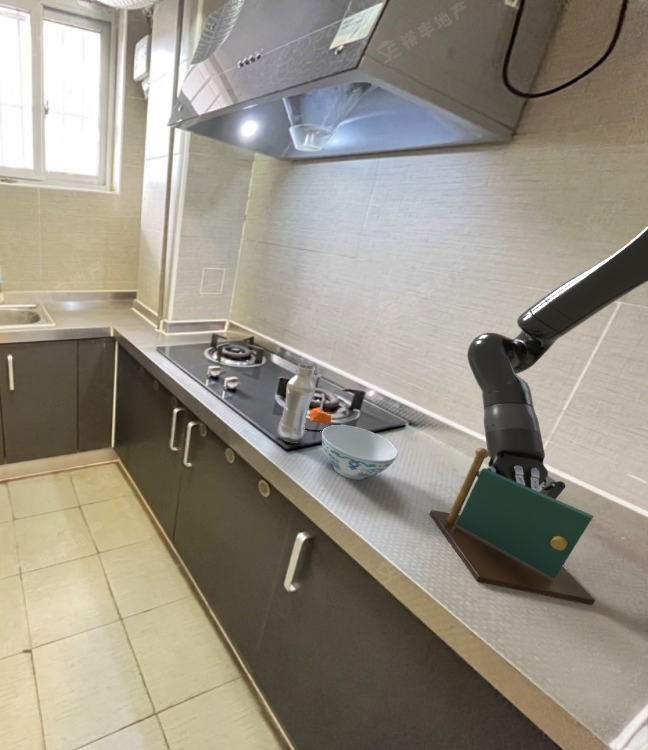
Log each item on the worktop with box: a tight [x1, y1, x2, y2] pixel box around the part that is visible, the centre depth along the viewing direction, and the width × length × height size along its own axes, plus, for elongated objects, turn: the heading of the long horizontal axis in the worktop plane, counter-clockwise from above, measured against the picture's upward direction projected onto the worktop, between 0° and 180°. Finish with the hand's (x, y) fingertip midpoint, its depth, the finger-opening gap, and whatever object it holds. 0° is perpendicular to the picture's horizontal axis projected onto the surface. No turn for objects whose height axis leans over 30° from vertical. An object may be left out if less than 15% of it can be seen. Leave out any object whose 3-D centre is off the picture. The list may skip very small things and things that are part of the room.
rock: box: [309, 407, 332, 424], centre depth 110 cm, size 12×12×4 cm
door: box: [457, 467, 594, 579], centre depth 64 cm, size 14×3×12 cm, turn 33°
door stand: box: [429, 447, 596, 606], centre depth 65 cm, size 16×16×17 cm
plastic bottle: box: [276, 363, 316, 443], centre depth 96 cm, size 6×7×20 cm
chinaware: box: [321, 424, 398, 480], centre depth 87 cm, size 15×15×8 cm
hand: (527, 531), depth 65 cm, fingers closed
